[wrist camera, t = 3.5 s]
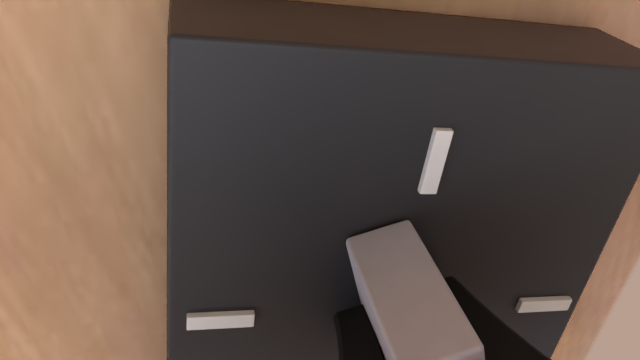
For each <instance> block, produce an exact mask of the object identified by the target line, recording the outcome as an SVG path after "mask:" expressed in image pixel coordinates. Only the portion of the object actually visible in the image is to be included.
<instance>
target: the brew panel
mask: <svg viewBox="0 0 640 360" xmlns="http://www.w3.org/2000/svg"><path fill="white" fill-rule="evenodd" d="M639 174H640V49H639V48H637V47H634V46H632V45H630V44H628V43H626V42H624V41H622V40H620V39H618V38H616V37H613V36H611V35H609V34H607V33H605V32H603V31H601V30H599V29H596V28H585V27H574V26H563V25H551V24H540V23H529V22H518V21H507V20H496V19H485V18H474V17H463V16H452V15H441V14H430V13H419V12H408V11H397V10H386V9H375V8H364V7H353V6H342V5H331V4H320V3H309V2H298V1H287V0H170V6H169V22H168V55H167V360H339V354H338V342H337V335H336V328H335V324H334V320H333V317H334V315H335V314H336V313H337V312H339V311H342V310H345V309H349V308H352V307H355V306H358V305H361V302H360V298H359V294H358V290H357V286H356V282H355V278H354V274H353V270H352V266H351V262H350V258H349V254H348V250H347V246H346V239H348V238H349V237H353V236H356V235H359V234H362V233H366V232H369V231H372V230H375V229H378V228H382V227H385V226H388V225H391V224H394V223H398V222H401V221H404V220H409V221H410V222H411V223H412V225H413V227H414V229H415V230H416V232H417V234H418V235H419V237H420V239H421V240H422V242H423V244H424V246H425V247H426V249H427V251H428V252H429V254H430V256H431V257H432V259H433V261H434V263H435V264H436V266H437V268H438V269H439V271H440V273H441V274H442V276H443V278H446V277H449V276H452V277H454V278H456V279H457V280H458V281H459V282H460V283H461V284H462V285H463V286H464V287H465V288H466V289H467V290H468V291H469V292H470V293H471V294H473V295H474V296H475V297H476V298H477V299H478V300H479V301H480V302H481V303H482V304H483V305H484V306H486V307H487V308H488V309H489V310H490V311H491V312H492V313H493V314H495V315H496V316H497V317H498V318H499V319H500V320H502V321H503V322H504V323H505V324H506V325H508V326H509V327H510V328H511V329H512V330H514V331H515V332H516V333H517V334H519V335H520V336H521V337H522V338H524V339H525V340H526V341H527V342H529V343H530V344H531V345H532V346H534V347H535V348H536V349H538V350H539V351H540V352H542V353H543V354H544V355H546V356H547V357H548V358H551V356H552V354H553V352H554V350H555V348H556V346H557V344H558V342H559V340H560V338H561V335H562V333H563V331H564V329H565V327H566V325H567V323H568V321H569V319H570V317H571V315H572V313H573V311H574V308H575V306H576V304H577V302H578V300H579V298H580V296H581V294H582V292H583V290H584V288H585V286H586V284H587V281H588V279H589V277H590V275H591V273H592V271H593V269H594V267H595V265H596V263H597V261H598V259H599V257H600V254H601V252H602V250H603V248H604V246H605V244H606V242H607V240H608V238H609V236H610V234H611V232H612V230H613V228H614V225H615V223H616V221H617V219H618V217H619V215H620V213H621V211H622V209H623V207H624V205H625V203H626V201H627V198H628V196H629V194H630V192H631V190H632V188H633V186H634V184H635V182H636V180H637V178H638V176H639Z"/></svg>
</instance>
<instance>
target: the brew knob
mask: <svg viewBox="0 0 640 360" xmlns="http://www.w3.org/2000/svg"><path fill="white" fill-rule="evenodd" d="M346 246H347V250H348V254H349V258H350V262H351V266H352V270H353V274H354V278H355V282H356V286H357V290H358V294H359V298H360V302H361V304H363V306H364V308H365V310H366V313H367V315H368V317H369V319H370V322H371V324H372V326H373V329H374V331H375V334H376V336H377V339H378V343H379V347H380V351H381V354H382V358H383V360H485V354H484V346H483V344H482V343H481V341H480V339H479V337H478V336H477V334H476V332H475V331H474V329H473V327H472V326H471V324H470V322H469V320H468V319H467V317H466V315H465V314H464V312H463V310H462V308H461V307H460V305H459V303H458V302H457V300H456V298H455V297H454V295H453V293H452V291H451V290H450V288H449V286H448V285H447V283H446V281H445V280H444V278H443V276H442V274H441V273H440V271H439V269H438V268H437V266H436V264H435V263H434V261H433V259H432V257H431V256H430V254H429V252H428V251H427V249H426V247H425V246H424V244H423V242H422V240H421V239H420V237H419V235H418V234H417V232H416V230H415V229H414V227H413V225H412V223H411V222H410V221H409V220H404V221H401V222H398V223H394V224H391V225H388V226H385V227H382V228H378V229H375V230H372V231H369V232H366V233H362V234H359V235H356V236H353V237H349V238H348V239H346Z"/></svg>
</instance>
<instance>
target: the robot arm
mask: <svg viewBox="0 0 640 360" xmlns="http://www.w3.org/2000/svg"><path fill="white" fill-rule="evenodd" d="M444 280H445V281H446V283H447V285H448V286H449V288H450V290H451V291H452V293H453V295H454V297H455V298H456V300H457V302H458V303H459V305H460V307H461V308H462V310H463V312H464V314H465V315H466V317H467V319H468V320H469V322H470V324H471V326H472V327H473V329H474V331H475V332H476V334H477V336H478V337H479V339H480V341H481V343H482V344H483V346H484V354H485V360H551V359H550V358H548V357H547V356H546V355H544V354H543V353H542V352H540V351H539V350H538V349H536V348H535V347H534V346H532V345H531V344H530V343H529V342H527V341H526V340H525V339H524V338H522V337H521V336H520V335H519V334H517V333H516V332H515V331H514V330H512V329H511V328H510V327H509V326H508V325H506V324H505V323H504V322H503V321H502V320H500V319H499V318H498V317H497V316H496V315H495V314H493V313H492V312H491V311H490V310H489V309H488V308H487V307H486V306H484V305H483V304H482V303H481V302H480V301H479V300H478V299H477V298H476V297H475V296H474V295H473V294H471V293H470V292H469V291H468V290H467V289H466V288H465V287H464V286H463V285H462V284H461V283H460V282H459V281H458V280H457V279H456V278H454V277H452V276H449V277H446V278H444ZM333 320H334V324H335V328H336V335H337V342H338V354H339V360H383V358H382V354H381V351H380V347H379V343H378V339H377V336H376V334H375V331H374V329H373V326H372V324H371V322H370V319H369V317H368V315H367V313H366V310H365V308H364V306H363V304H361V305H358V306H355V307H352V308H349V309H345V310H342V311H339V312H337V313H336V314H335V315H334V317H333Z"/></svg>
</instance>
